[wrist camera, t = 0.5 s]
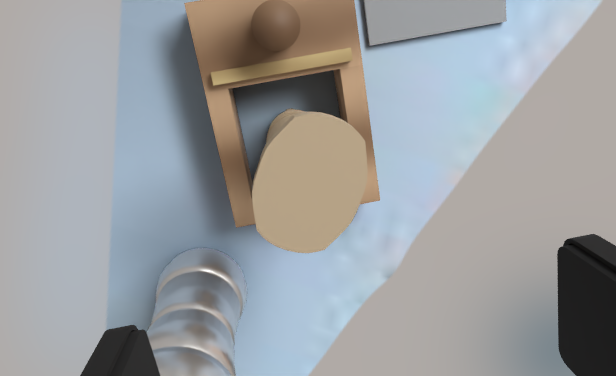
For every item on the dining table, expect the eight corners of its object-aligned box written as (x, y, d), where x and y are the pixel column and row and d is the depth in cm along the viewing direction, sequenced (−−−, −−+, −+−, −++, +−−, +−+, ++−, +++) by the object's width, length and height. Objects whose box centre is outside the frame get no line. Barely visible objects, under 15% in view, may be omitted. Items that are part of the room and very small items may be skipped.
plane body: (192, 7, 32) (175, -2, 26) (342, -19, 33) (359, -34, 26) (238, 211, 37) (233, 244, 31) (369, 186, 37) (390, 214, 31)
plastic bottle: (182, 226, 37) (91, 420, 18) (262, 257, 38) (258, 470, 19) (152, 294, 38) (38, 542, 19) (230, 323, 40) (196, 581, 20)
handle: (248, 160, 36) (236, 236, 21) (274, 77, 34) (280, 99, 20) (308, 178, 37) (336, 264, 22) (336, 98, 35) (386, 134, 21)
